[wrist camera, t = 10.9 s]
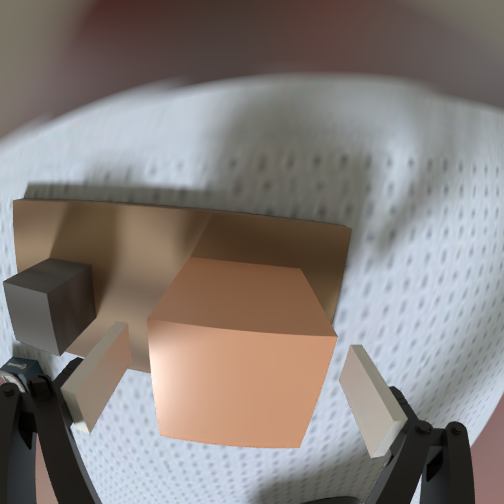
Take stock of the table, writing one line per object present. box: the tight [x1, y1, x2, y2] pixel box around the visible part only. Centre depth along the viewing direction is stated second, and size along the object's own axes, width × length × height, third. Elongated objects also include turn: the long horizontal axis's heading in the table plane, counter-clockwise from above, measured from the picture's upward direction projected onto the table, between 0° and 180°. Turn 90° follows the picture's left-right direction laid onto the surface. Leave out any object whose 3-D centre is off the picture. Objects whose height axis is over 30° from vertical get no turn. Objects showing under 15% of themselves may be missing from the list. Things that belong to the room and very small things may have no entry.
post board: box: [3, 198, 352, 373], centre depth 18 cm, size 14×28×8 cm, turn 84°
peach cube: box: [147, 257, 338, 448], centre depth 16 cm, size 8×8×9 cm
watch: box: [0, 357, 44, 393], centre depth 19 cm, size 6×8×11 cm
